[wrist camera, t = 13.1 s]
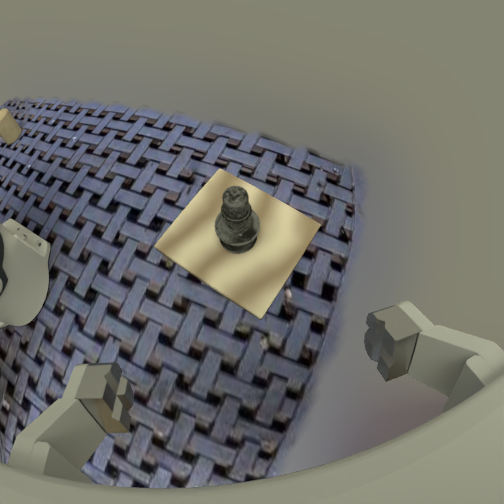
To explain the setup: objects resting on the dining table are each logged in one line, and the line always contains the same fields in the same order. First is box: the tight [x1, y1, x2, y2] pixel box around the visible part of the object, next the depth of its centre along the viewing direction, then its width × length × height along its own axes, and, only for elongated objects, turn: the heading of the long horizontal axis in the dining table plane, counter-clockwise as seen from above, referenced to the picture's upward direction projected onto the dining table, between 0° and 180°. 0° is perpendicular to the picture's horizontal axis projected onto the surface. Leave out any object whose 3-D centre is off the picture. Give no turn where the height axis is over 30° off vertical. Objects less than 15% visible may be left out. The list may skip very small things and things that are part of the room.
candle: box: [0, 109, 22, 145], centre depth 48 cm, size 6×6×10 cm
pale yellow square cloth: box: [154, 169, 321, 320], centre depth 42 cm, size 18×16×1 cm
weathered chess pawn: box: [214, 186, 260, 254], centre depth 35 cm, size 6×6×12 cm
